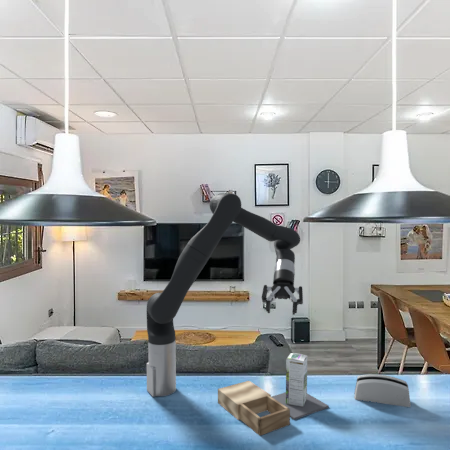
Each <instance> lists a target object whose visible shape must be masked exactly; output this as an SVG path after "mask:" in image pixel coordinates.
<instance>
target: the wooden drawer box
mask: <svg viewBox="0 0 450 450" xmlns="http://www.w3.org/2000/svg"><path fill="white" fill-rule="evenodd" d="M217 403H218V405H220V406H221V407H222V408H224V410H225V411H227V412H228V413H229V414H230V415H232V417H234V418H235V419H236V420H237V421H241V422H243V423H244V424H245V425H246V426H247V427H249V428H250V429H251V430H252V431H253V432H254V433H256V434H257V435H258V436H263V435H266V434H268V433H271V432H274V431H277V430H280V429H282V428H285V427H287V426H290V424H291V418H290V409H289V408H287V407H286V406H284V405H283V404H281V403H280V402H278V401H277V400H275V399H274V398H272V394H270V393H269V392H267V391H266V390H264V389H262V387H260V386H258V385H256V384H255V383H254V382H253V381H250V380H245V381H243V382H238V383H235V384H231V385H228V386H223V387H220V388H217ZM264 412H269V414H265V415H262V416H259V415H258V414H260V413H264Z"/></svg>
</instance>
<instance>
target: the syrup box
mask: <svg viewBox="0 0 450 450" xmlns="http://www.w3.org/2000/svg"><path fill="white" fill-rule="evenodd" d="M285 359H286V361H285V362H286V364H285V369H286V370H285V392H286V404H290V405H296V406H302V407H304V404H305V402H306V399H307V394H308V355H307V354H302V353H295V352H293V353H291V352H290V353H289V355H288V356H287V358H285Z"/></svg>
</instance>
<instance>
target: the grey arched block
mask: <svg viewBox="0 0 450 450" xmlns="http://www.w3.org/2000/svg"><path fill="white" fill-rule="evenodd" d="M355 382H356V383H355V389H354V400H355V401H356V400H357V401H362V400H363V401H364V402H369V401H371V402H370V403H376V402H377V403H378V404H386V405H389V406H390V405H392V406H397V407H404V408H411V397H410V390H409V385H408V382H407V381H406V380H403V379H401V378H397V377H394V376H390V375H387V374H370V373H368V374H362V375H357V379H356V381H355ZM377 403H376V404H377Z"/></svg>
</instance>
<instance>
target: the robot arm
mask: <svg viewBox="0 0 450 450" xmlns="http://www.w3.org/2000/svg"><path fill="white" fill-rule="evenodd" d="M209 209H210V212H211V213H212V215H211V217H210V219H209V220H208V221H207V223H206V224H205V225H204V226H203V227H202V228H201V229H200V230H199V231H198V232H197V233H196V234H195V235H193V236H192V237H191V238H190V240H188V242H187V244H186V245H185V247H183V250H182V252H181V253H180V254H179V257H178V259H177V261H176V264H175V266H174V269H173V272H172V275H171V278H170V280H169V282H168V283H167V284H166V286H165V288H164V289H163V290H162V292H156V293H154V294H152V295H151V296H150V298H148V300H147V303H146V331H147V338H148V339H147V340H148V342H147V345H148V349H147V350H148V352H147V353H148V358H147V359H148V362H146V391H147V392H148V393H149V394H150V396H151V397H152V398H153V397H154V398H155V397H165V396H169V395H172V394H174V393H175V392H176V390H177V372H176V371H177V367H176V366H177V365H176V359H177V357H176V356H177V354H176V346H177V345H176V331H175V325H174V319H175V317H176V315H177V314H178V312H179V310H180V308H181V305H182V304H183V301H184V300H185V298H186V296H187V294H188V292H189V290H190V289H191V287H192V285H194V282H195V281H196V280H197V278H198V276H199V275H200V273H201V272H202V270H203V269H204V267H205V265H207V263H208V261H209V259H210V258H211V256H212V254H213V252H214V250H215V249H216V247H217V246H218V245H219V243H220V241H221V240H222V237H223V236H224V234H225V233H226V231H227V230H228V229H229V227H230V226H231V225H232V224H233V223H234V224H237V225H239V226H241V227H243V228H245V229H246V230H249V231H250V232H252V233H254V234H255V235H257V236H259V237H261V238H262V239H264V240H266V241H267V242H273V247H274V250H275V252H274V253H275V255H276V258H275V259H276V260H275V266H274V269H273V270H274V271H273V279H272V280H273V281H272V285H271V286H268V285H267V284H264V285H263V287H262V288H263V289H262V292H261V293H262V294H261V301H262V303H265V311H266V312H267V313H268V314H270V313H271V306H272V303H273V302H274V301H276V299H278V300H289V301H290V303H292V309H291V310H292V315H296V314H297V313H298V306H299V305H304V300H303V299H304V295H303V286H302V285H300V286H299V287H295V277H296V272H295V270H296V268H295V263H296V261H295V260H296V256H295V253H294V251H293V250H292V249H294V248H296V247H297V246H298V245H299V244H300V242H301V237H300V234H299V233H298V231H296V230H294V229H293V228H290V227H287V226H283V225H277V224H276V223H275V222H273V221H270V220H269V219H267V218H265V217H263V216H262V215H258V214H256V213H253V212H251V211H248V210H246V209H245V208H243V207H242V201H241V198H240V197H239V195H237V194H236V193H232V192H230V193H229V192H227V193H226V192H222V193H216V194H214V195H213V196H212V197H211V199H210V201H209ZM270 291H271V292H270ZM295 292H296V294H297V295H298V298H296V296H295V295H294V293H295ZM269 293H270V295H269V296H268V294H269ZM267 296H268V297H267Z"/></svg>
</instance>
